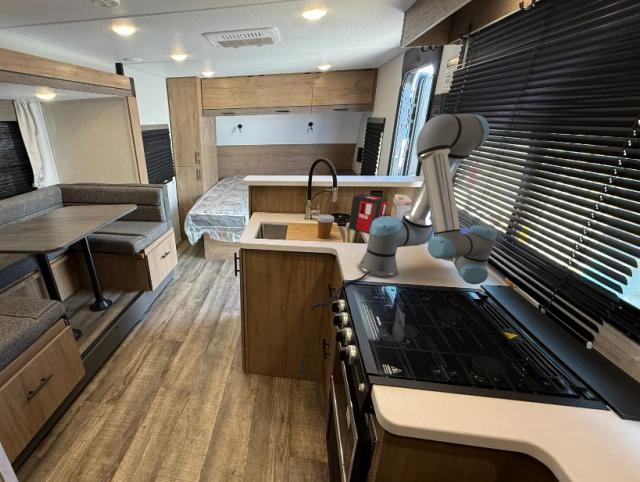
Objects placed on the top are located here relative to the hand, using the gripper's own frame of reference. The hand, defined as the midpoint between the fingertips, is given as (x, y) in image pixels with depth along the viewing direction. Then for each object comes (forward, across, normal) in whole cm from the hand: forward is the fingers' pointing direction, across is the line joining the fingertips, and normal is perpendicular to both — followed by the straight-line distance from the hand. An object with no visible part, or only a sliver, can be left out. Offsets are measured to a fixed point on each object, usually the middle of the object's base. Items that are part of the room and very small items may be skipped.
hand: (451, 239), depth 136 cm
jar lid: (-5, 0, +6) cm, 7 cm away
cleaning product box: (+38, -35, -12) cm, 53 cm away
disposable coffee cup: (+17, -56, -12) cm, 60 cm away
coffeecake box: (+47, -17, -12) cm, 52 cm away
